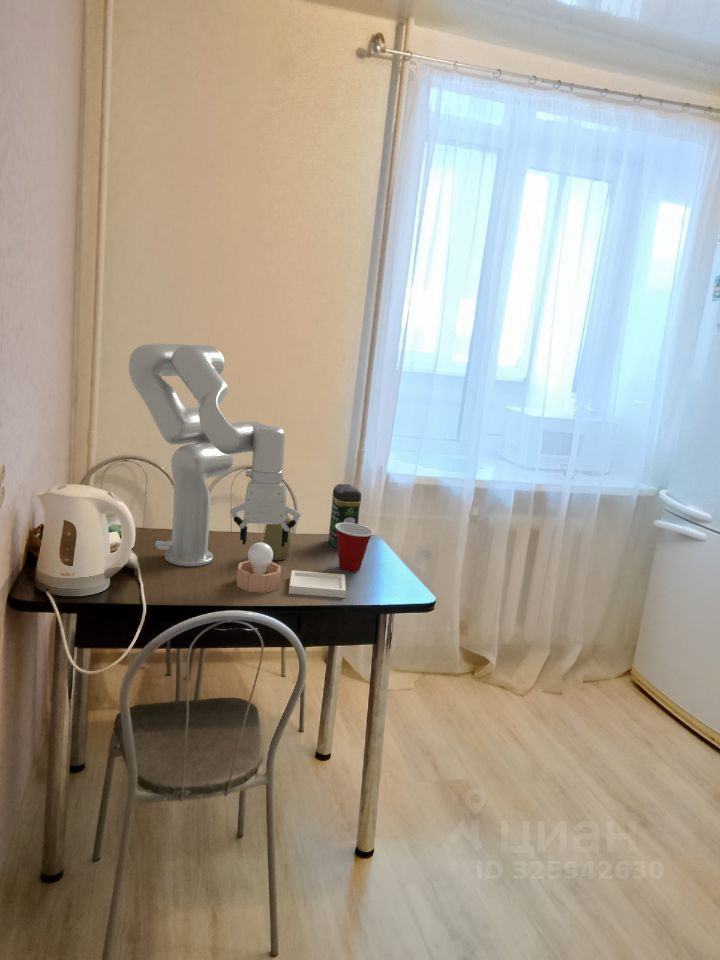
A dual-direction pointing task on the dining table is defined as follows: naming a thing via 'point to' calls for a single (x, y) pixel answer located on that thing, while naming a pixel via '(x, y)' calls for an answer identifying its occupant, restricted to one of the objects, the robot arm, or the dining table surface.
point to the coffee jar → (343, 508)
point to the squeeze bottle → (277, 540)
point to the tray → (317, 584)
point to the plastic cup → (352, 545)
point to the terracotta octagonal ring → (258, 578)
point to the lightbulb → (260, 557)
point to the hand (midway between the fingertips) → (263, 543)
